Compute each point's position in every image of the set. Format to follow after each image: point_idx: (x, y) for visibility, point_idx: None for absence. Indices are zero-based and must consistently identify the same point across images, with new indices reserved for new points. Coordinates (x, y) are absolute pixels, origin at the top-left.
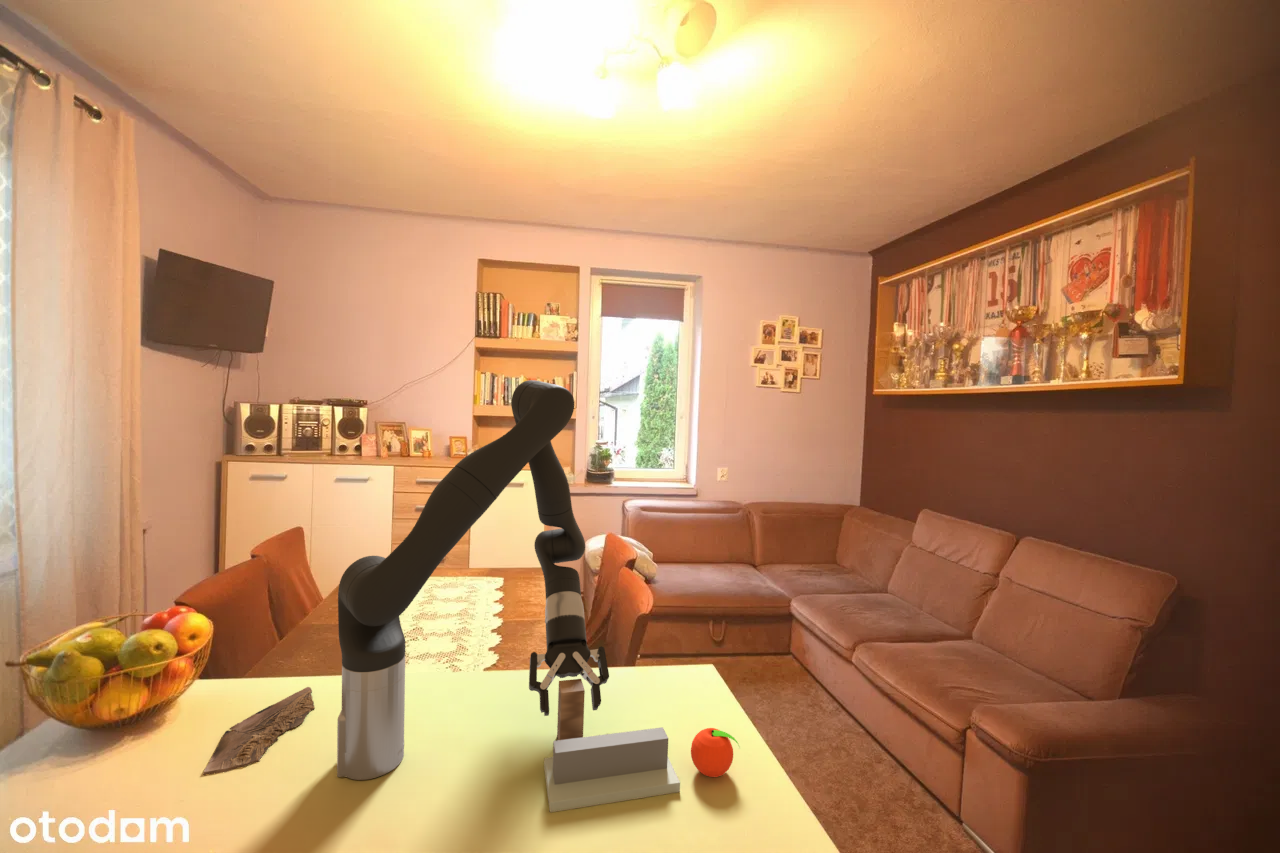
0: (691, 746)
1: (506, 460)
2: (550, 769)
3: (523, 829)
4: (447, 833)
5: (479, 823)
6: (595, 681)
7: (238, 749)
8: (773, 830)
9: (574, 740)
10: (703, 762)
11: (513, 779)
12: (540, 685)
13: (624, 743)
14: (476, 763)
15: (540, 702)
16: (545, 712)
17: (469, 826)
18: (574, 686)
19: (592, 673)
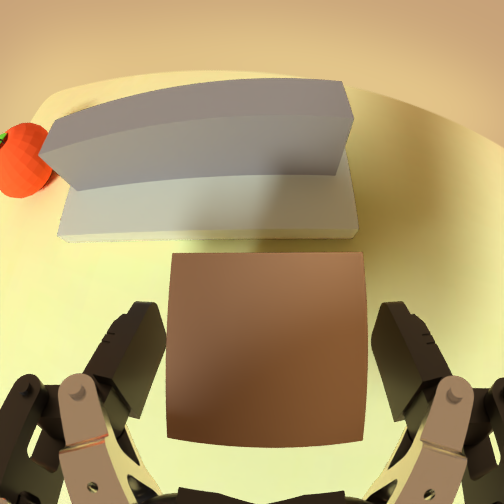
0: (33, 158)
1: None
2: (340, 183)
3: (370, 105)
4: (463, 135)
5: (434, 134)
6: (84, 389)
7: None
8: (63, 98)
9: (283, 107)
10: (46, 131)
11: (413, 213)
12: (472, 391)
13: (143, 94)
14: (482, 281)
15: (432, 339)
16: (398, 302)
17: (444, 134)
18: (242, 330)
19: (76, 436)
